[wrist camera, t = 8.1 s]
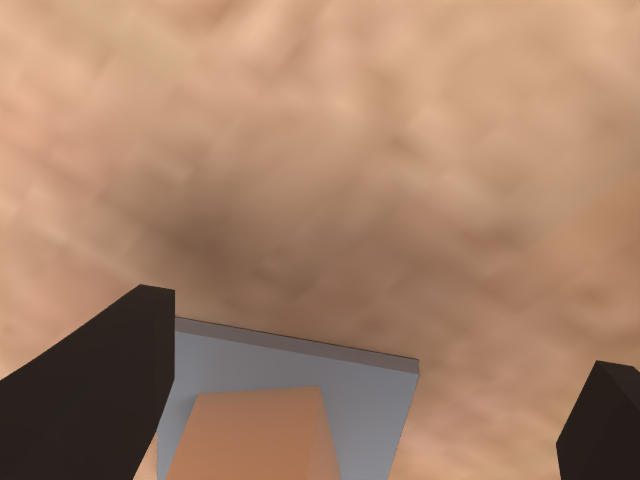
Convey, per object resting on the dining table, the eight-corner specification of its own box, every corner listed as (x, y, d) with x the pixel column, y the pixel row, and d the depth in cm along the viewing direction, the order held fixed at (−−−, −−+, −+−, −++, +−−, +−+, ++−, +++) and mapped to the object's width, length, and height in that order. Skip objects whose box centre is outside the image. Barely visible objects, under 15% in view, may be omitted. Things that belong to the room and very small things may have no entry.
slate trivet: (418, 360, 23) (419, 374, 22) (370, 518, 28) (370, 534, 27) (164, 315, 23) (157, 328, 22) (163, 481, 28) (157, 495, 27)
